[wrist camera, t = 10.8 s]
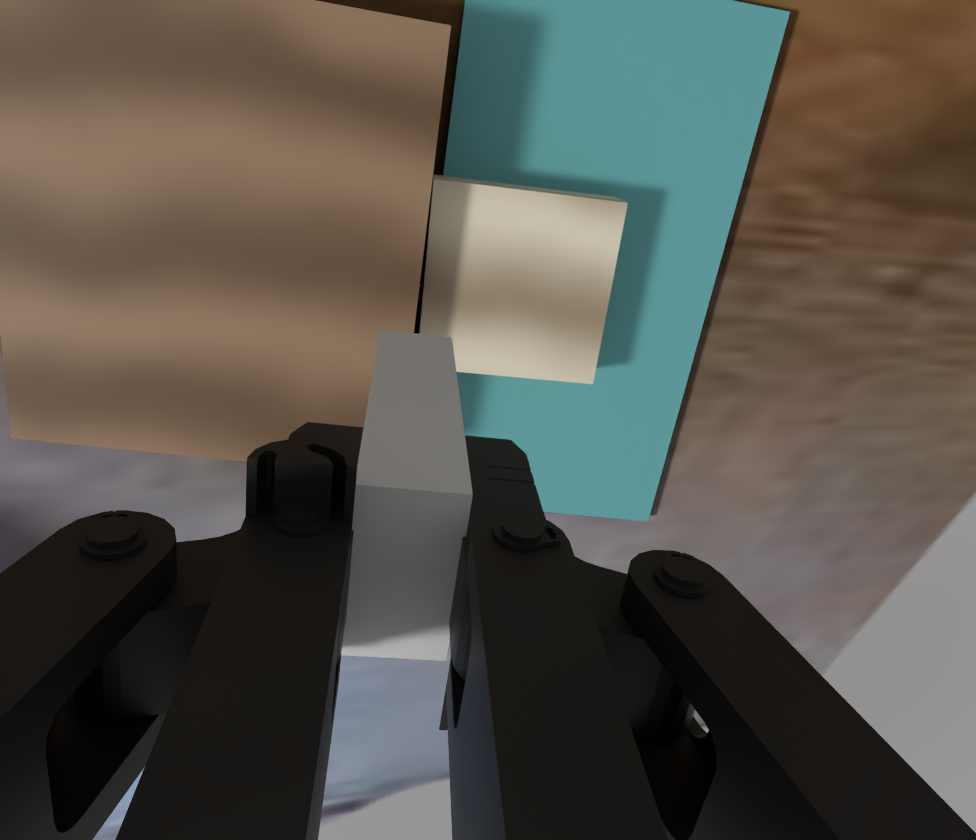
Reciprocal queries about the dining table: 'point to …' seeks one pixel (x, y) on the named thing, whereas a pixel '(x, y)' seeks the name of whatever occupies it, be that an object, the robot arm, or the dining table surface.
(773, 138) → the dining table surface
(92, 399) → the walnut board
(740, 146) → the teal mat
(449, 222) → the birch tile
